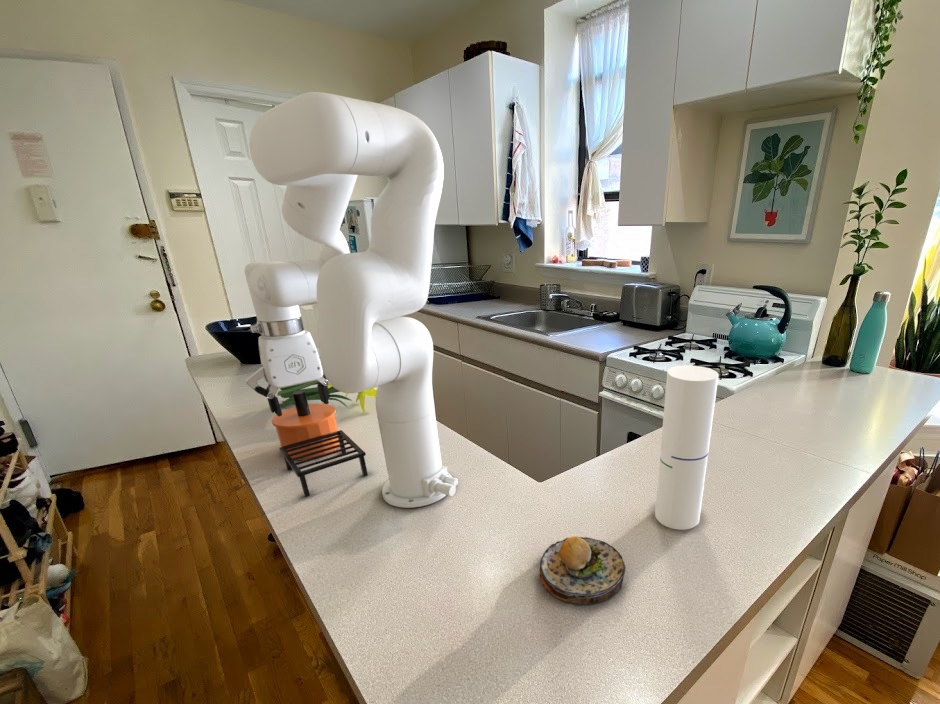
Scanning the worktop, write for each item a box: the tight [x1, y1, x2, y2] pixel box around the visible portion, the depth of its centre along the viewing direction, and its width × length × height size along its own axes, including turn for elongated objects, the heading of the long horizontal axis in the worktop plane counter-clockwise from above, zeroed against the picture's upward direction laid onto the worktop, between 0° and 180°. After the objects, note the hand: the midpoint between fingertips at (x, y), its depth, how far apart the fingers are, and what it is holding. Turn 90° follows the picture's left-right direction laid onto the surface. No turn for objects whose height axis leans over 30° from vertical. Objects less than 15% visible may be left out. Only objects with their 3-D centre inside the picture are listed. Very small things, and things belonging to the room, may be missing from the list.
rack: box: [278, 429, 369, 498], centre depth 91 cm, size 14×12×5 cm
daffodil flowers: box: [276, 372, 378, 414], centre depth 120 cm, size 17×15×35 cm
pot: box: [275, 414, 339, 461], centre depth 100 cm, size 11×11×8 cm
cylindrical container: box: [654, 364, 719, 531], centre depth 72 cm, size 7×7×25 cm
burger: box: [538, 536, 626, 605], centre depth 63 cm, size 12×12×8 cm
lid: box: [271, 389, 337, 429], centre depth 98 cm, size 12×12×6 cm
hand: (302, 408), depth 98 cm, fingers open, 8 cm apart
